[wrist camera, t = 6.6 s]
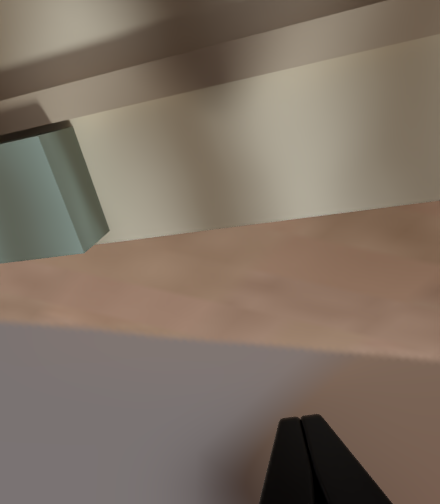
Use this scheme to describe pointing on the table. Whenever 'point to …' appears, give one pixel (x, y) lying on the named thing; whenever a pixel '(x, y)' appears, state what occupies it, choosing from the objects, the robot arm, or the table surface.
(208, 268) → the table surface
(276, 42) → the lever
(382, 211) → the table surface
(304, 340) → the table surface
